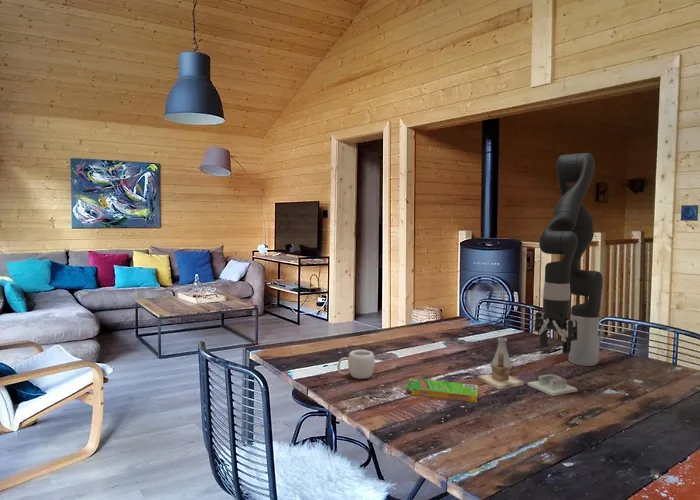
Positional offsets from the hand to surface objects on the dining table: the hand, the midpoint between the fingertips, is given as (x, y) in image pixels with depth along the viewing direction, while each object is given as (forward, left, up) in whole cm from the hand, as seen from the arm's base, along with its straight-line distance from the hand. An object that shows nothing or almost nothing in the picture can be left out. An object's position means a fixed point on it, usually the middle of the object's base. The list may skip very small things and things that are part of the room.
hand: (554, 349), depth 154 cm
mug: (+51, -32, -12) cm, 62 cm away
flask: (0, -22, -12) cm, 26 cm away
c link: (0, 0, -11) cm, 11 cm away
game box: (+34, -10, -13) cm, 37 cm away
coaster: (0, 0, -12) cm, 12 cm away
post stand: (+11, -10, -12) cm, 20 cm away
